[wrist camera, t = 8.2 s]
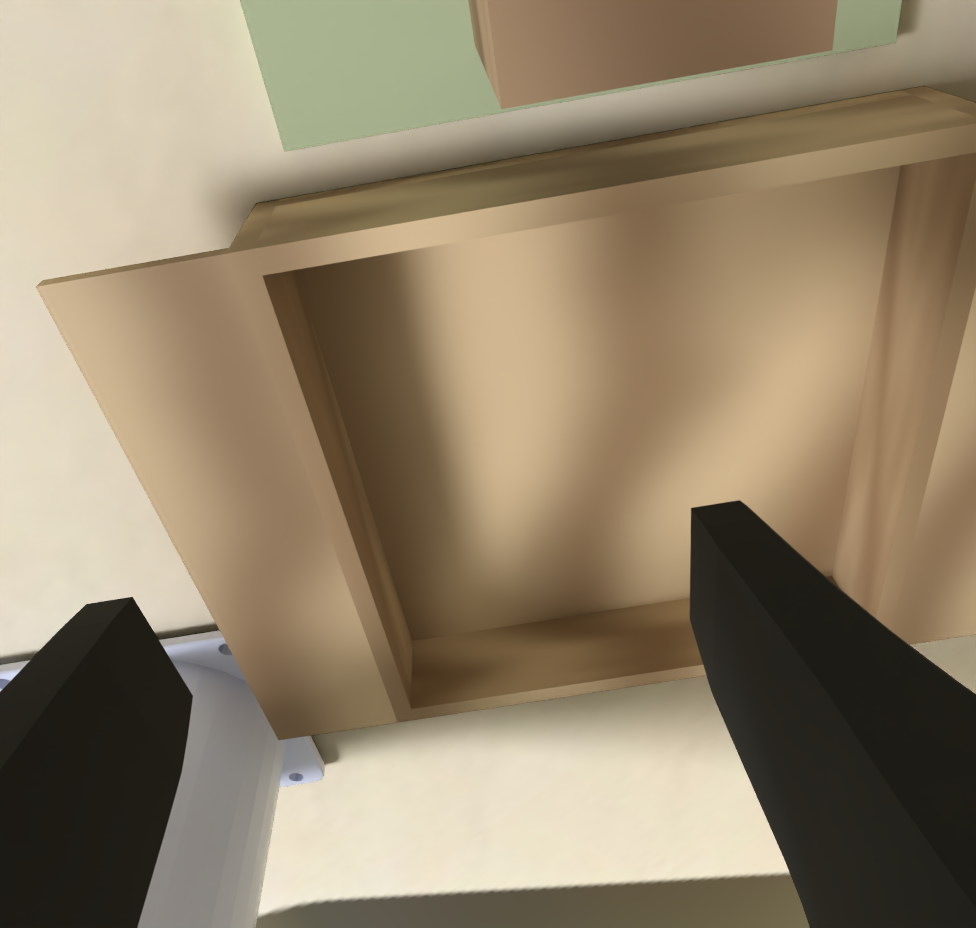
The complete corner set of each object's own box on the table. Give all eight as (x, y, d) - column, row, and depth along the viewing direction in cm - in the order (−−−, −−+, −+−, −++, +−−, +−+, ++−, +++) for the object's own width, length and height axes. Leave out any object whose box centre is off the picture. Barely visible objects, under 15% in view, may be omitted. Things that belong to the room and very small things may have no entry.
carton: (293, 658, 24) (278, 740, 22) (95, 231, 16) (36, 287, 14) (951, 555, 23) (1012, 628, 21) (1097, 55, 15) (1224, 80, 13)
